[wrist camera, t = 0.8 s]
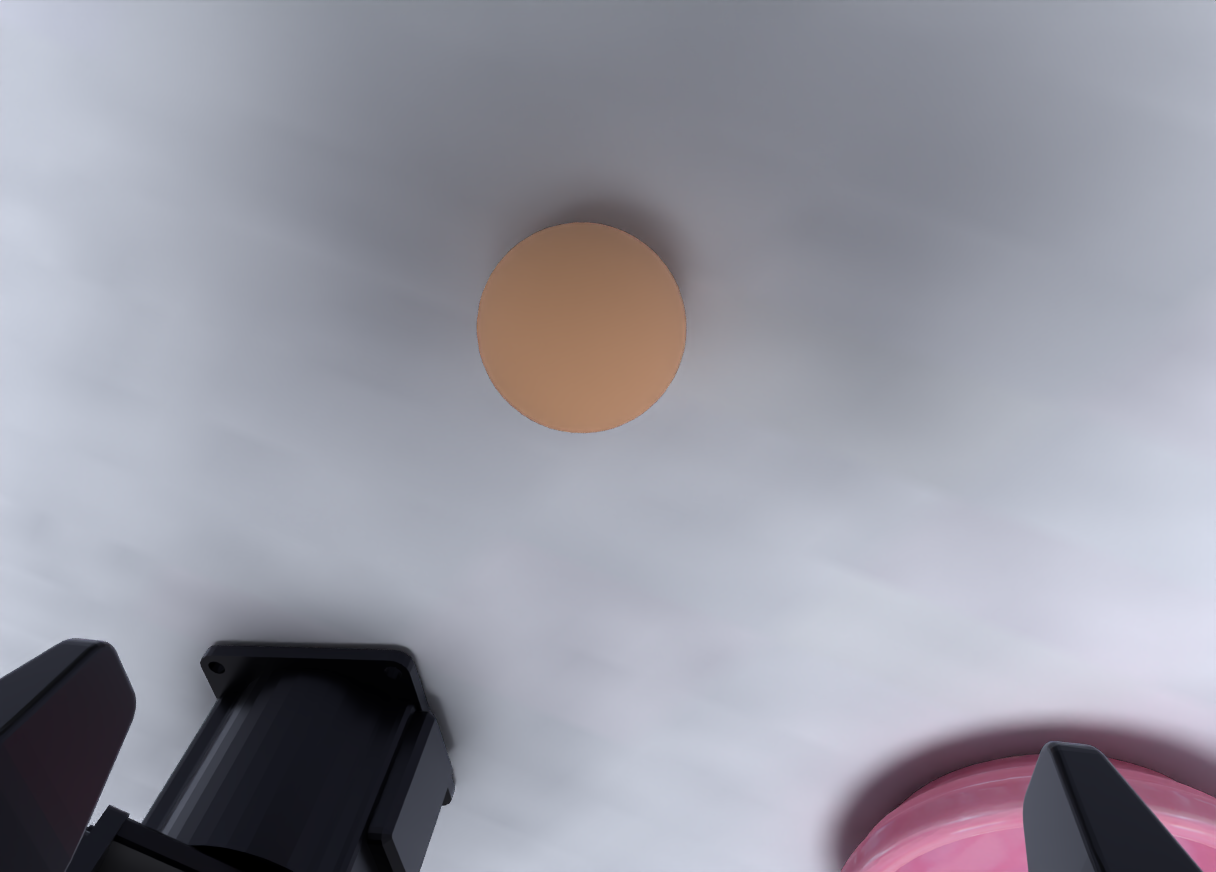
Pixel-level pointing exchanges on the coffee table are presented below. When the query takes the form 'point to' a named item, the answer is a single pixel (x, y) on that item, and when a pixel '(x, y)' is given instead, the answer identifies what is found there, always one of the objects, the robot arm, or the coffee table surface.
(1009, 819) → the saucer
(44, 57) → the coffee table surface
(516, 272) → the bead
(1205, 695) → the coffee table surface
